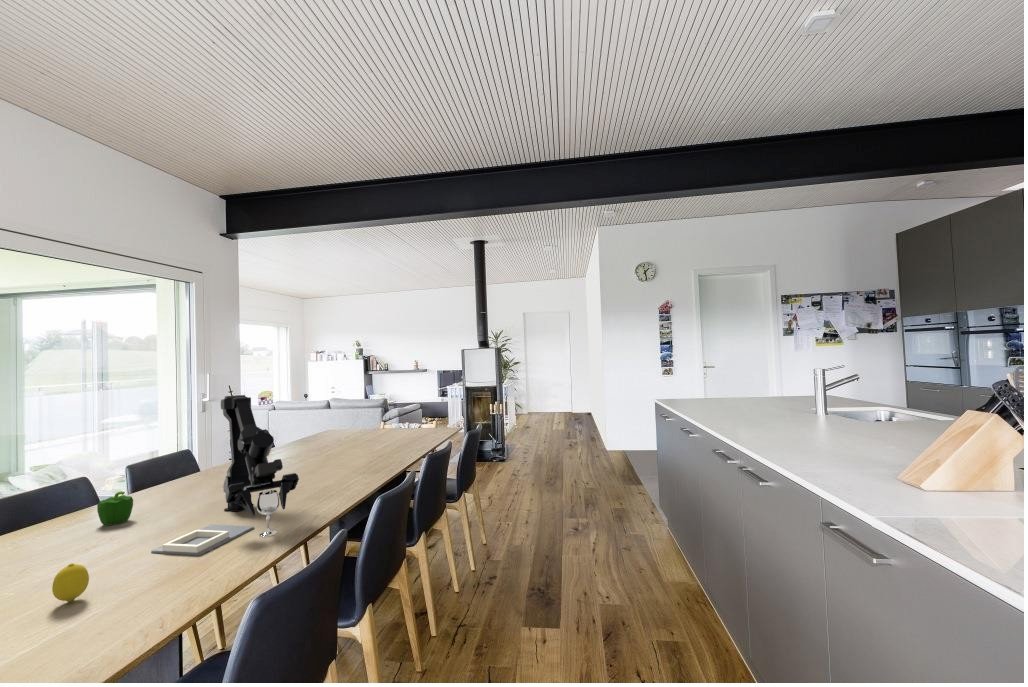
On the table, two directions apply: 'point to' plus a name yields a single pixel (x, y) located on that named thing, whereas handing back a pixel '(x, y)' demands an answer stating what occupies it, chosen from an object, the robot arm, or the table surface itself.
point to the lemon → (70, 582)
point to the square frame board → (202, 540)
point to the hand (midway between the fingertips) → (269, 512)
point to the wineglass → (267, 507)
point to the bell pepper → (115, 509)
